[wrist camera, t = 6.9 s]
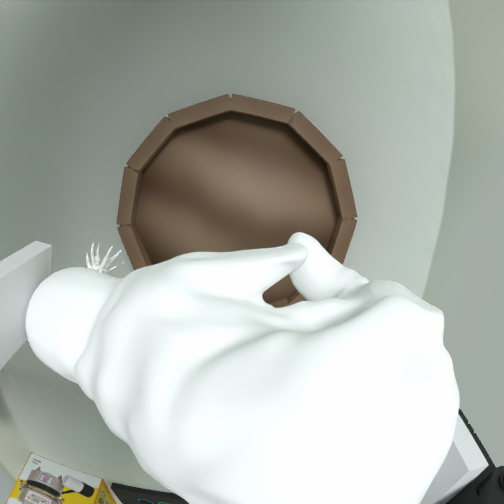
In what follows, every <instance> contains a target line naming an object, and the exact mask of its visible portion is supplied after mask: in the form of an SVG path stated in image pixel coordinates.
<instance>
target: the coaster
mask: <svg viewBox="0 0 504 504" xmlns="http://www.w3.org/2000/svg"><path fill="white" fill-rule="evenodd" d="M294 111H295V109H294V108H290V107H287V106H283V105H279V104H275V103H271V102H267V101H263V100H259V99H254V98H250V97H245V96H241V95H236V94H232V98H231V100H230V97H229V95H228V94H227V95H223V96H220V97H217V98H214V99H210V100H207V101H204V102H201V103H198V104H195V105H192V106H190V107H187V108H184V109H181V110H178V111H176V112H173V113H170V114H168V116H169V118H167V117H164V118H163V119H162V120H161V121H160V123H159V124H158V125H157V126H156V127H155V128H154V130H153V131H152V132H151V133H150V134H149V136H148V137H147V138H146V139H145V140H144V142H143V143H142V144H141V145H140V147H139V148H138V149H137V150H136V152H135V153H134V154H133V155H132V157H131V158H130V159H129V161H128V162H127V163H126V164H127V165H128V167H125V168H124V174H123V180H122V187H121V194H120V202H119V209H118V218H117V224H119V225H121V226H119V227H118V231H119V234H120V236H121V239H122V241H123V244H124V246H125V249H126V251H127V254H128V256H129V259H130V261H131V263H132V266H133V268H134V270H137V269H140V268H143V267H146V266H150V265H155V264H158V263H161V262H164V261H167V260H170V259H172V258H174V257H177V256H180V255H183V254H187V253H192V252H233V251H240V250H250V249H263V248H274V247H280V246H284V245H287V243H288V240H289V238H290V237H291V236H292V235H293V234H294V233H297V232H302V233H305V234H308V235H310V236H312V237H313V238H315V239H316V240H317V241H318V242H319V243H320V244H321V246H322V247H323V248H324V249H325V250H326V251H327V252H328V253H329V254H330V255H331V256H332V257H333V258H334V259H336V260H337V261H338V262H339V263H341V264H342V265H343V262H344V259H345V256H346V253H347V250H348V247H349V244H350V241H351V238H352V235H353V232H354V229H355V226H356V223H357V221H356V220H355V219H354V218H356V217H357V213H356V208H355V203H354V198H353V194H352V189H351V185H350V180H349V176H348V172H347V167H346V163H345V159H340V158H341V157H342V154H341V153H340V152H339V151H338V150H337V149H336V148H335V147H334V146H333V145H332V144H331V143H330V142H329V141H328V140H327V139H326V138H325V136H324V135H323V134H322V133H321V132H320V131H319V130H318V129H317V128H316V127H315V126H314V125H313V124H312V123H311V122H310V121H309V120H308V119H307V118H306V117H305V116H304V115H303V114H302V113H300V112H299V111H298V112H297V113H295V114H294ZM262 298H263V300H264V301H265V303H267V304H270V305H272V306H273V307H274V308H282V307H286V306H289V305H293V304H295V303H298V302H301V301H307V300H306V299H305V298H304V297H303V296H302V295H301V294H300V293H299V292H298V291H297V289H296V288H295V287H294V285H293V283H292V281H291V278H290V275H289V274H288V275H286V276H285V277H284V278H282V279H281V280H279V281H278V282H276V283H275V284H274V285H272V286H271V287H270V288H268V289H267V290H266V291H264V293H263V294H262Z"/></svg>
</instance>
